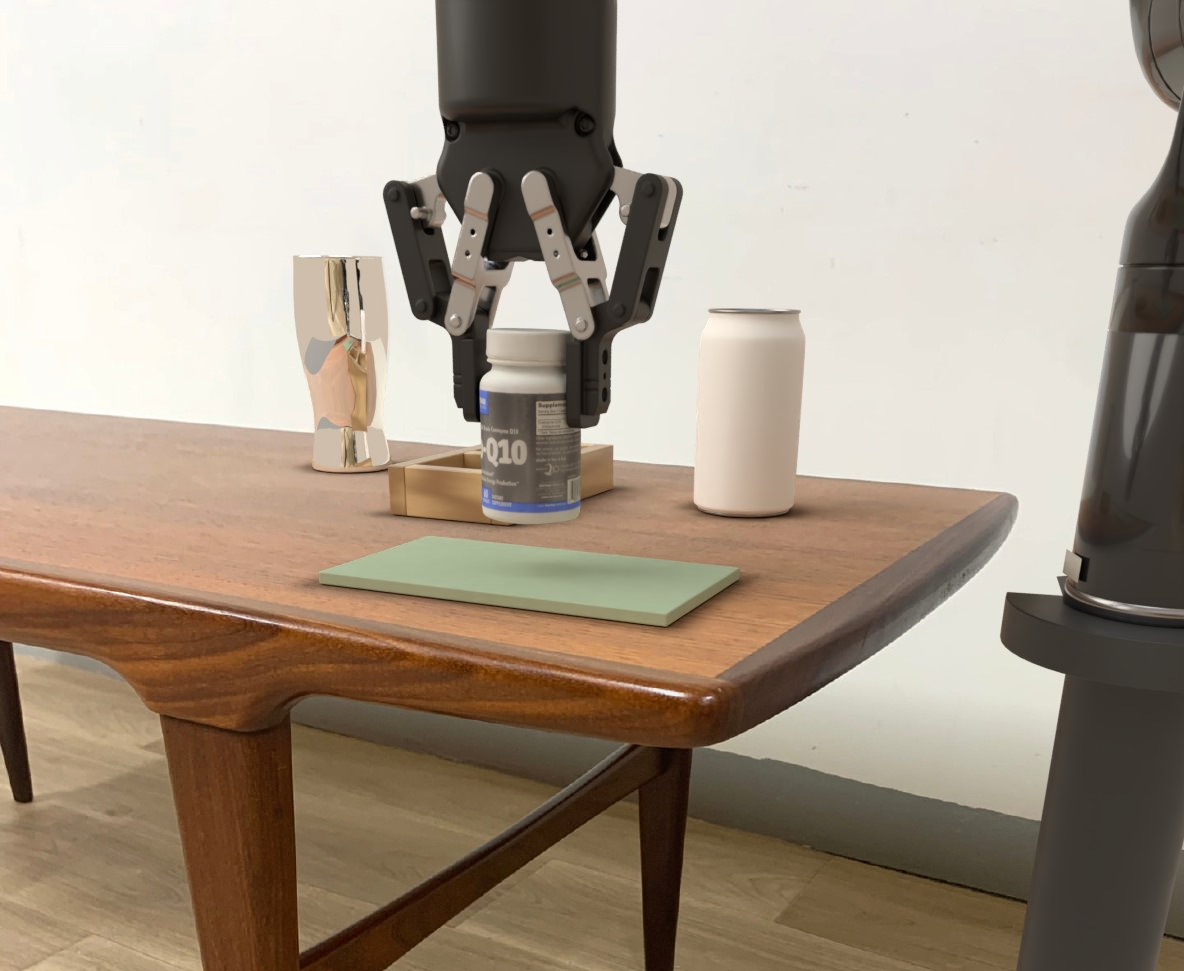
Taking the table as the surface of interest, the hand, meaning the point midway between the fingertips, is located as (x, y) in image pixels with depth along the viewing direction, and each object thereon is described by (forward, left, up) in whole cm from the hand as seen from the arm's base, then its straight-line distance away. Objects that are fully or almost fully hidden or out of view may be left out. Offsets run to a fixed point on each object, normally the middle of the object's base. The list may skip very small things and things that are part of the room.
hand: (530, 421), depth 57 cm
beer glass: (+30, -28, -8) cm, 42 cm away
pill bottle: (0, 0, -5) cm, 5 cm away
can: (-3, -24, -8) cm, 25 cm away
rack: (+12, -20, -8) cm, 24 cm away
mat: (0, 0, -8) cm, 8 cm away
